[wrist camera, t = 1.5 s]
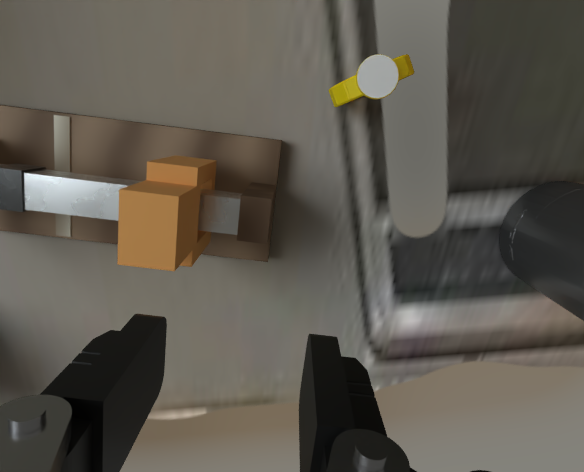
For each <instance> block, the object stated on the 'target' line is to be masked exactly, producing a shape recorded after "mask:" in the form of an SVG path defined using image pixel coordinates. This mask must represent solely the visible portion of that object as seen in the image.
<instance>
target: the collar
mask: <svg viewBox="0 0 584 472" xmlns="http://www.w3.org/2000/svg"><path fill="white" fill-rule="evenodd" d="M216 163H217V160H210V159H202V158H194V157H185V156H177V155H175V156H170V157H166V158H161V159H156V160H152V161H147V176H146V180H145V181H142V182H139V183H136V184H133V185H130V186H127V187H124V188H121V189H119V218H118V265H126V266H134V267H143V268H151V269H160V270H169V271H175V270H176V269H177V268H178V267H179V265H180V266H189V267H192V265H193V264H194V263H195V261H196V260H197V259H198V257H199V256H200V255H201V253H202V252H203V251H204V249H205V248H206V247H207V245H208V244H209V243H210V240H211V232H208V231H200V230H198V220H199V205H200V191H201V189H210V190H214V189H215V176H216Z"/></svg>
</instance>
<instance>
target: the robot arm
mask: <svg viewBox="0 0 584 472" xmlns="http://www.w3.org/2000/svg"><path fill="white" fill-rule="evenodd" d="M499 243H500V252H501V255H502V258H503V260H504V262H505V264H506V265H507V267H508V269H509V270H510V271H511V272H512V273H513V274H514V275H515V276H517V277H518V278H520V279H521V280H523V281H524V282H526V283H527V284H529V285H530V286H532V287H533V288H535V289H537V290H538V291H540V292H541V293H542V294H544V295H545V296H547V297H548V298H550V299H551V300H553V301H554V302H556V303H557V304H559V305H560V306H562V307H563V308H565V309H566V310H568V311H569V312H571V313H573V314H574V315H576V316H577V317H579V318H580V319H582V320H583V321H584V184H579V183H573V182H566V181H559V182H550V183H547V184H543V185H540V186H538V187H536V188H534V189H532V190H530V191H528V192H527V193H526V194H524V195H523V196H522V197H520V198H519V199H518V200H517V201H516V202H515V204H514V205H513V206H512V207H511V208H510V210H509V212H508V213H507V215H506V216H505V218H504V221H503V224H502V227H501V231H500V238H499ZM166 328H167V323H166V318H165V317H160V316H152V315H143V314H135V315H134V316H133V317H132V318H131V319H130V320H129V322H128V323H127V324H126V325H125V326H124V327H123V328H122V330H121V331H114V330H110V331H108V332H106V333H104V334H102V335H100V336H98V337H96V338H94V339H93V340H92V341H91V342H90V343H89V344H88V345H87V346H86V347H85V348H84V349H83V350H82V353H79V354H78V355H77V357H76V358H75V359H74V360H73V361H72V364H69V365H68V366H67V367H66V368H65V369H64V370H63V371H62V372H61V373H60V374H59V375H58V376H57V377H56V378H55V379H54V380H53V381H52V383H51V384H50V385H49V386H48V387H47V388H46V389H45V390H44V391H43V392H42V393H41V394H40V395H32V396H26V397H22V398H18V399H15V400H13V401H10V402H8V403H5V404H3V405H1V406H0V472H119V471H120V469H121V467H122V466H123V464H124V462H125V460H126V458H127V456H128V454H129V452H130V450H131V448H132V446H133V444H134V442H135V440H136V438H137V436H138V434H139V432H140V430H141V428H142V426H143V424H144V423H145V421H146V419H147V417H148V415H149V413H150V411H151V409H152V407H153V405H154V403H155V401H156V399H157V397H158V395H159V392H160V389H161V386H162V382H163V376H164V366H165V347H166ZM299 440H300V441H299V442H300V472H416V471H415V470H413V469H412V468H410V466H409V461H408V459H407V456H406V454H405V453H404V451H403V450H402V449H401V447H400V446H399V445H397V444H396V443H395V442H394V441H393V440H391V439H390V438H388V437H387V434H386V431H385V428H384V425H383V421H382V418H381V415H380V411H379V408H378V405H377V401H376V398H374V392H373V388H372V386H371V382H370V378H369V375H368V372H367V370H366V369H365V368H364V367H363V365H362V364H361V363H360V362H359V361H358V360H357V359H356V358H350V357H341V353H340V349H339V344H338V339H337V337H333V336H324V335H316V334H309V336H308V341H307V347H306V354H305V361H304V368H303V375H302V382H301V389H300V400H299ZM471 472H489V471H482V470H478V471H471Z"/></svg>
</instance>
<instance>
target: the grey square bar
mask: <svg viewBox="0 0 584 472" xmlns="http://www.w3.org/2000/svg"><path fill="white" fill-rule="evenodd" d="M139 182H142V181H136V180H128V179H120V178H111V177H103V176H95V175H87V174H79V173H71V172H62V171H54V170H46V167H42V166H34V165H26V164H17V163H16V164H8V165H5V164H0V209H1V210H9V211H17V212H25V211H28V210H33V211H41V212H49V213H58V214H66V215H75V216H83V217H91V218H100V219H108V220H116V221H118V218H119V189H121V188H124V187H127V186H130V185H133V184H136V183H139ZM241 195H242V193H234V192H226V191H218V190H210V189H201V191H200V205H199V220H198V230H200V231H208V232H217V233H225V234H233V235H237V232H238V221H239V210H240V199H241Z"/></svg>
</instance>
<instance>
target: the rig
mask: <svg viewBox="0 0 584 472" xmlns="http://www.w3.org/2000/svg"><path fill="white" fill-rule="evenodd" d="M281 145H282V140H275V139H267V138H259V137H251V136H243V135H235V134H227V133H219V132H211V131H203V130H195V129H187V128H179V127H171V126H163V125H155V124H147V123H140V122H132V121H124V120H116V119H108V118H100V117H92V116H84V115H76V114H68V113H60V112H52V111H44V110H36V109H28V108H20V107H12V106H5V105H0V164H5V165H8V164H16V163H17V164H26V165H34V166H42V167H46V170H54V171H62V172H71V173H79V174H87V175H95V176H103V177H111V178H120V179H128V180H136V181H145V180H146V176H147V161H152V160H156V159H161V158H166V157H170V156H175V155H177V156H185V157H194V158H202V159H210V160H217V163H216V176H215V189H214V190H218V191H226V192H234V193H242V195H241V199H240V210H239V221H238V232H237V235H233V234H225V233H217V232H211V240H210V243H209V244H208V245H207V247H206V248H205V249H204V251H203V252H202V253H201V254H205V255H213V256H222V257H230V258H239V259H247V260H255V261H264V262H268V258H269V250H270V241H271V232H272V224H273V215H274V206H275V197H276V188H277V180H278V171H279V162H280V153H281ZM0 230H2V231H10V232H19V233H27V234H35V235H44V236H52V237H61V238H69V239H78V240H86V241H95V242H103V243H112V244H118V221H116V220H108V219H100V218H91V217H83V216H75V215H66V214H58V213H49V212H41V211H33V210H28V211H25V212H17V211H9V210H1V209H0Z"/></svg>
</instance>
